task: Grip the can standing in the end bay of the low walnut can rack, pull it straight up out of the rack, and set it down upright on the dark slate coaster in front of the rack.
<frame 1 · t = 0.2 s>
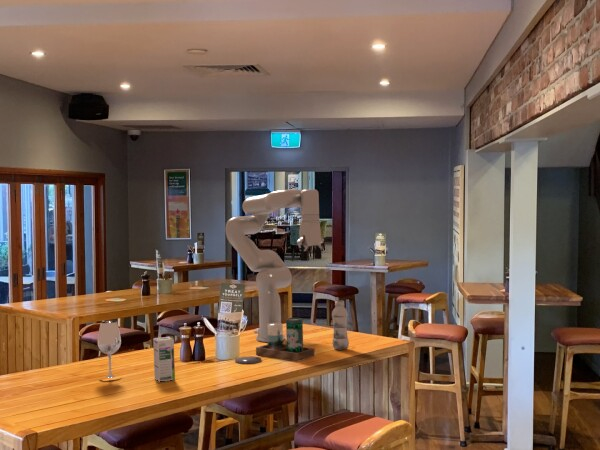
hand: (311, 259, 284), 36 cm above the table, tool pointing down, fingers open, 9 cm apart
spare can: (275, 354, 271), resting in can rack
syrup box: (164, 380, 234), on the table
plastic bottle: (340, 350, 277), on the table
can rack: (285, 355, 268), on the table
can: (295, 357, 265), resting in can rack
wineglass: (110, 379, 237), on the table
slate coaster: (248, 360, 260), on the table
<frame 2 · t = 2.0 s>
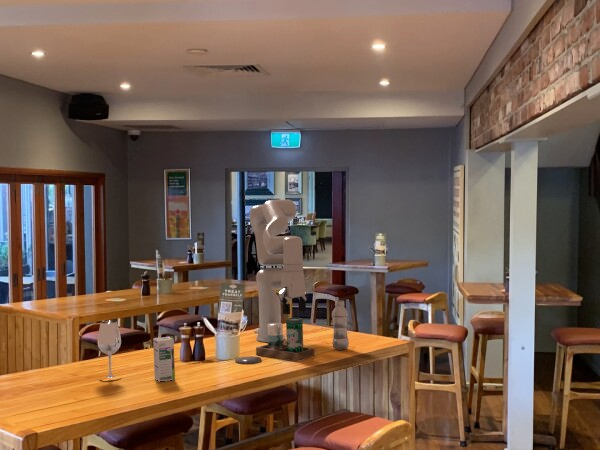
hand: (294, 312, 264), 18 cm above the table, tool pointing down, fingers open, 9 cm apart
nothing on the table moved.
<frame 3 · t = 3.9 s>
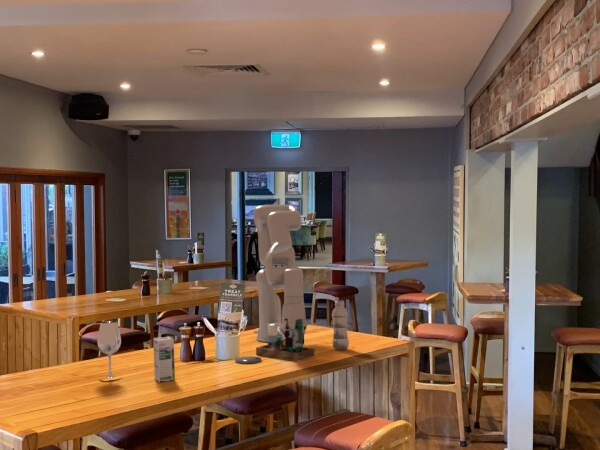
hand: (294, 345, 265), 5 cm above the table, tool pointing down, fingers closed on can, 6 cm apart
can: (295, 357, 265), resting in can rack, touching gripper
everything else where it was.
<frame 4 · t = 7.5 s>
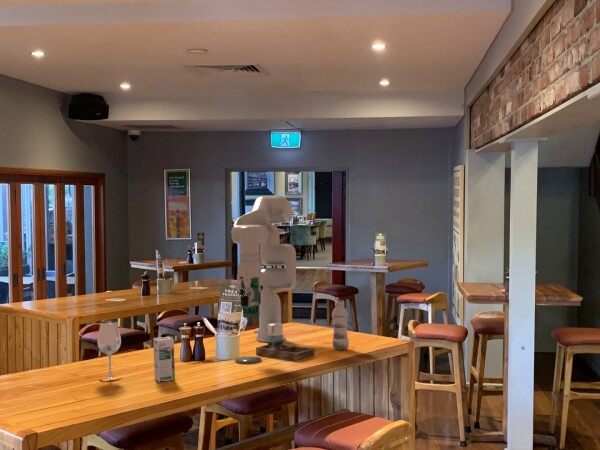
hand: (250, 304, 260), 22 cm above the table, tool pointing down, fingers closed on can, 6 cm apart
can: (251, 317, 260), point 17 cm above the table, touching gripper
everything else where it was.
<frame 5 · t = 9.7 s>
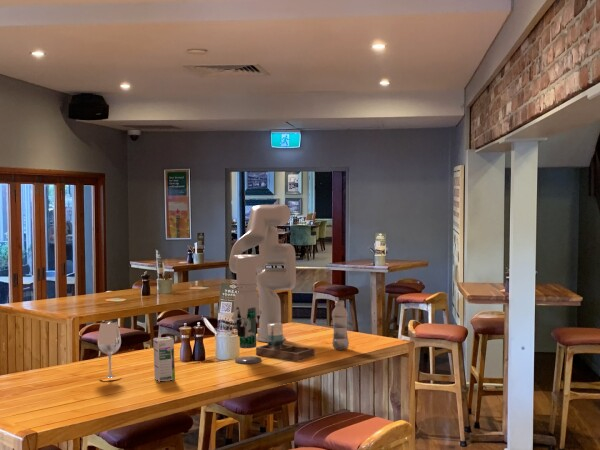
hand: (247, 334, 260), 10 cm above the table, tool pointing down, fingers closed on can, 6 cm apart
can: (248, 347, 260), point 5 cm above the table, touching gripper
everything else where it was.
when the fingers open (7 cm above the table, at t = 11.3 s): can drops 2 cm, resting on slate coaster.
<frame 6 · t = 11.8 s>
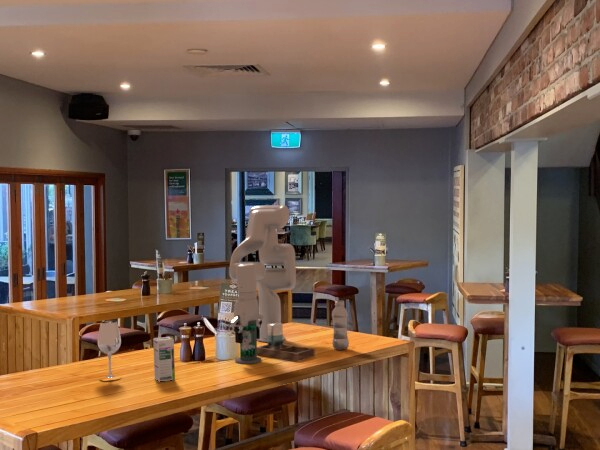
hand: (247, 340, 260), 8 cm above the table, tool pointing down, fingers open, 9 cm apart
can: (248, 359, 260), resting on slate coaster
everything else where it was.
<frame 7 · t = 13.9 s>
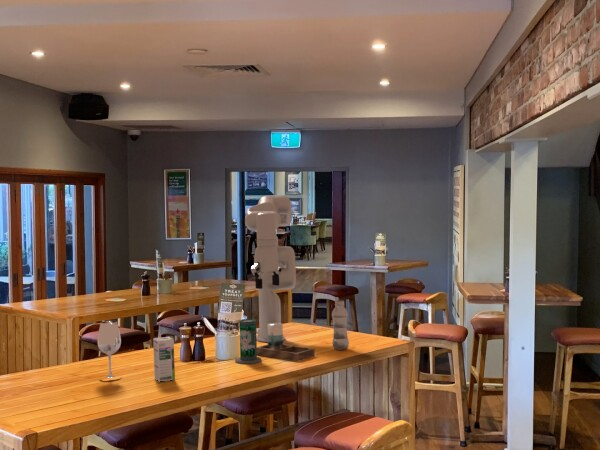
hand: (267, 286, 268), 27 cm above the table, tool pointing down, fingers open, 9 cm apart
nothing on the table moved.
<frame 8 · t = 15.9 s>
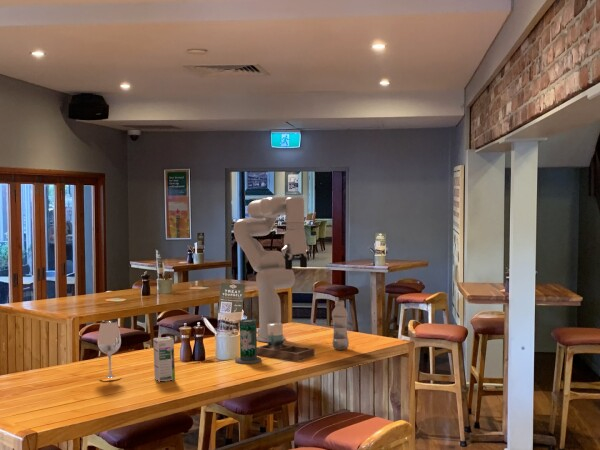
hand: (296, 268, 280), 33 cm above the table, tool pointing down, fingers open, 9 cm apart
nothing on the table moved.
at the end: can 0.3 cm from the slate coaster (horizontally); can tilted 0°; can resting on slate coaster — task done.
